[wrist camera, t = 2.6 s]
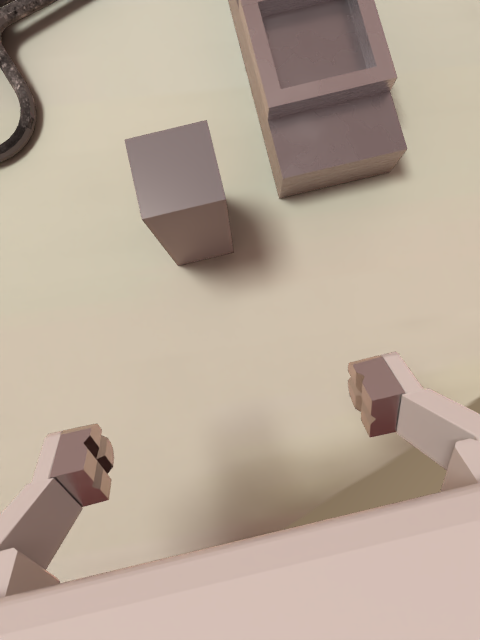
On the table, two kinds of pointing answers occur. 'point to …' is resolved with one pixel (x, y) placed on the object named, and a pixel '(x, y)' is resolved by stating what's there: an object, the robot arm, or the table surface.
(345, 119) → the grey base with post
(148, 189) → the block
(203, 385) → the table surface
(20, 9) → the valve
